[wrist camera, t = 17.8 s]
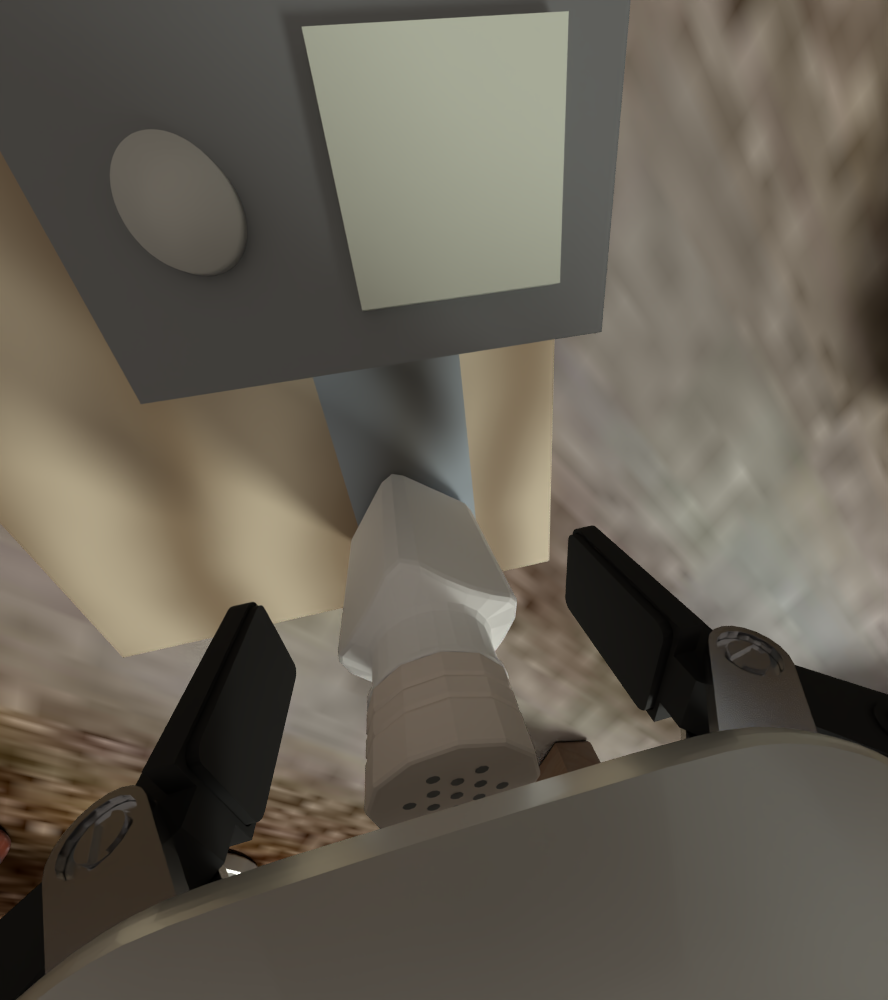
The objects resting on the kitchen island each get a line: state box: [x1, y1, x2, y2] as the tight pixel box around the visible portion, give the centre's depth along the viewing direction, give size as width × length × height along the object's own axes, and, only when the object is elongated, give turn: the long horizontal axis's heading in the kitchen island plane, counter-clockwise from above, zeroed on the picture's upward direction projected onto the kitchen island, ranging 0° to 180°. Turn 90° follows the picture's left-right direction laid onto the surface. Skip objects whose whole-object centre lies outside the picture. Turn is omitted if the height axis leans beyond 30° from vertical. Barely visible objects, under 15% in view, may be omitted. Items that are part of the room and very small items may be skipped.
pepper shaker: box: [338, 474, 540, 829], centre depth 10 cm, size 4×4×10 cm
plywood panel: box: [0, 152, 554, 658], centre depth 11 cm, size 20×20×1 cm
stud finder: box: [0, 0, 630, 404], centre depth 7 cm, size 8×4×6 cm, turn 97°
